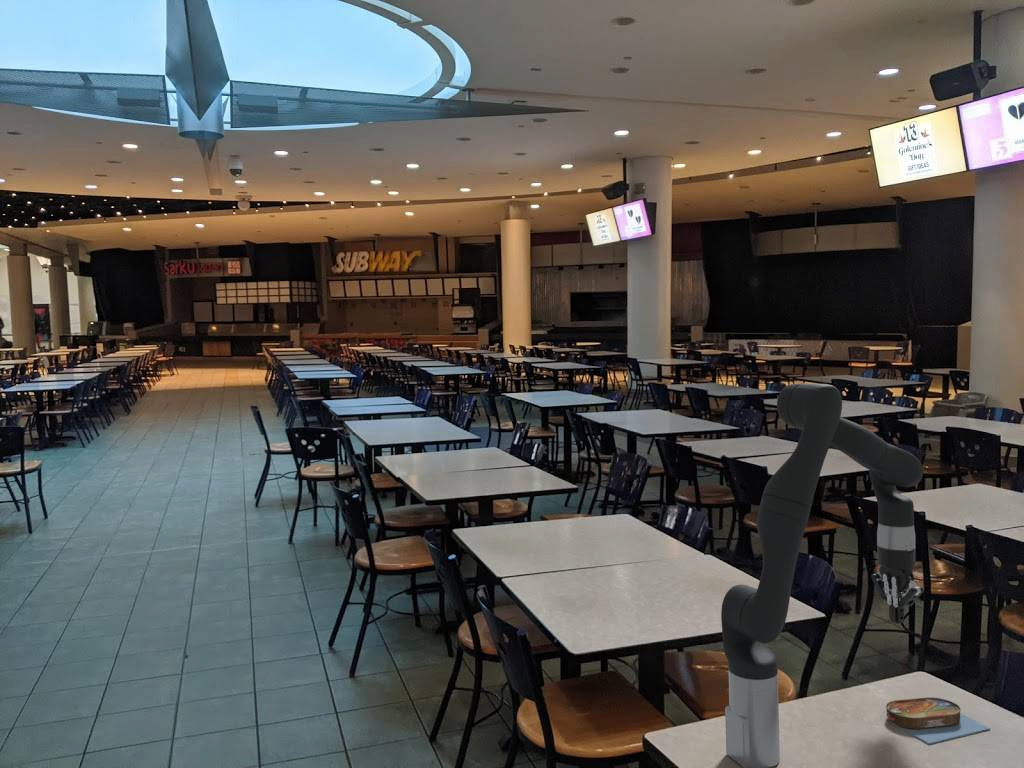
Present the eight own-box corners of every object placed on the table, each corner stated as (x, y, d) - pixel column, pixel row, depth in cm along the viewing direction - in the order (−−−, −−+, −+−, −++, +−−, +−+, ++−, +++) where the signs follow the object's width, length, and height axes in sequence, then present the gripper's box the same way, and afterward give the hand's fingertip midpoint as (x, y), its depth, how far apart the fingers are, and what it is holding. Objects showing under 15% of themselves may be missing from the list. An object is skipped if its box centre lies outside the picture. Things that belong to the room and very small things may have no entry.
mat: (929, 744, 157) (929, 743, 157) (890, 722, 166) (890, 721, 166) (990, 729, 162) (990, 728, 162) (949, 709, 171) (949, 707, 171)
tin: (943, 695, 171) (969, 710, 163) (944, 710, 171) (970, 725, 163) (877, 701, 170) (900, 716, 162) (878, 716, 170) (901, 731, 162)
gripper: (860, 539, 178) (860, 615, 179) (906, 553, 166) (907, 634, 166) (886, 536, 181) (887, 611, 181) (934, 549, 168) (934, 630, 169)
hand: (896, 622), depth 174 cm, fingers closed
